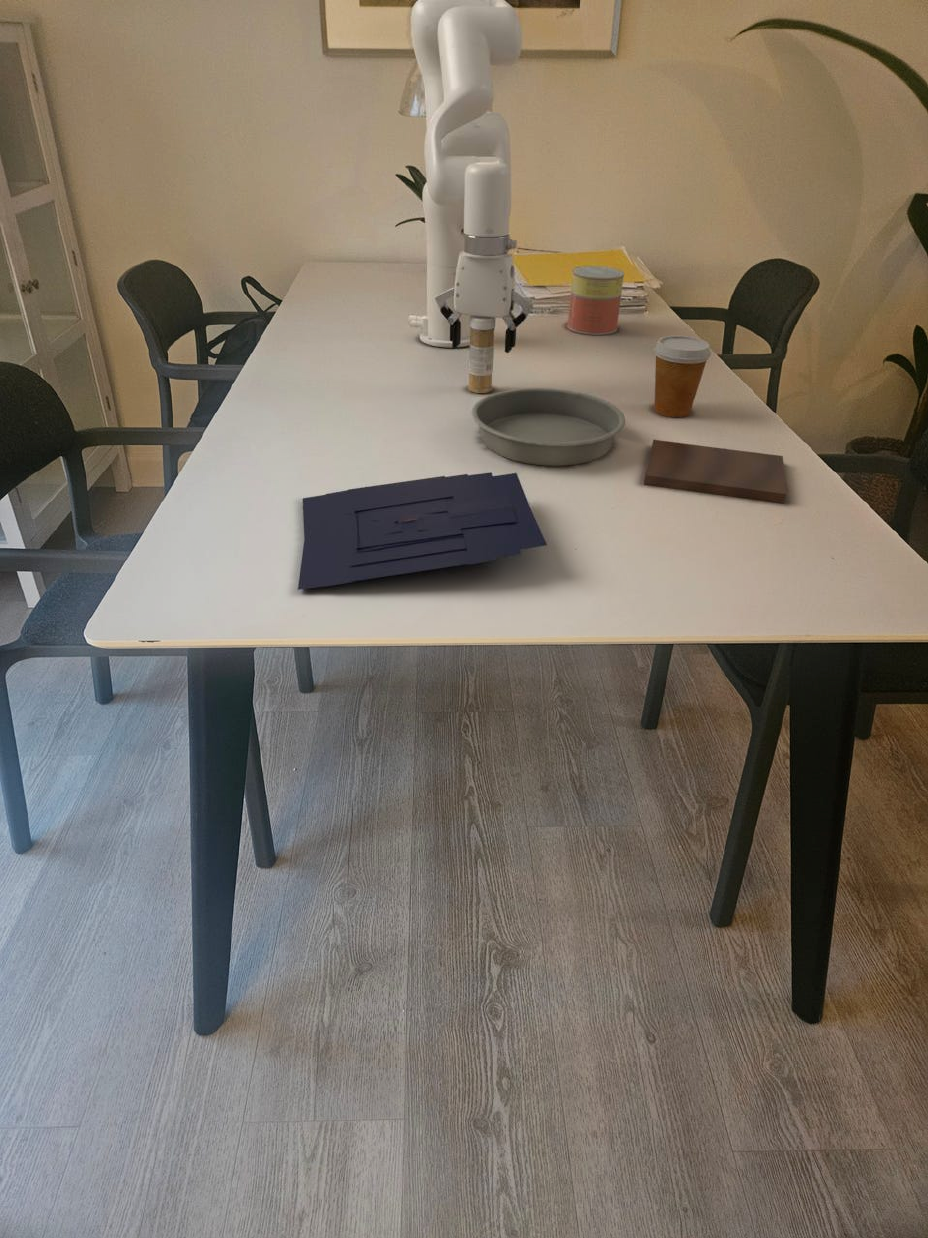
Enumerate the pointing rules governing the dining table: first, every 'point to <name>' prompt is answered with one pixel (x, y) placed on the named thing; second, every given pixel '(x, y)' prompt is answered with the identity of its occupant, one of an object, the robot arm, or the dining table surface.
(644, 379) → the dining table surface
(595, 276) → the canned food
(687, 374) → the disposable coffee cup
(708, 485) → the walnut serving board
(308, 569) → the papers
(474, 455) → the dining table surface
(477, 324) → the sprinkles bottle
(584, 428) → the cake pan
